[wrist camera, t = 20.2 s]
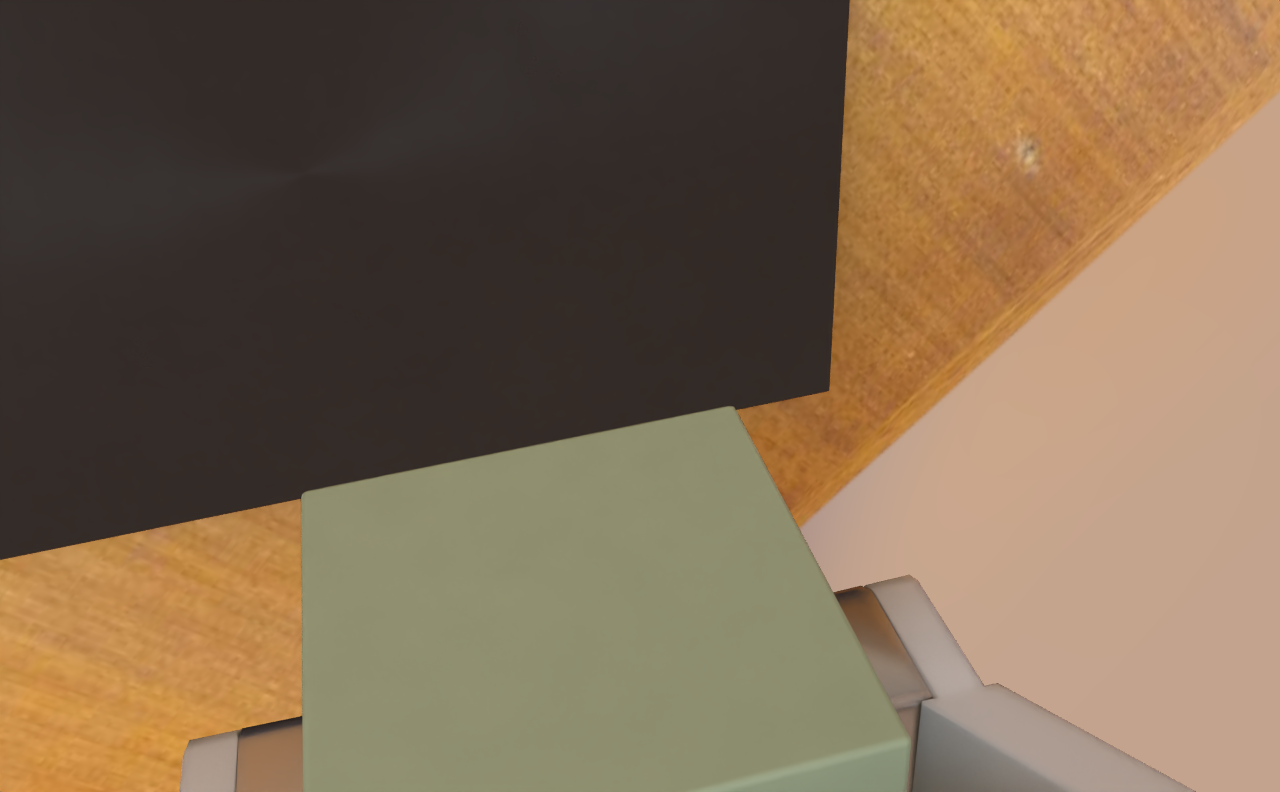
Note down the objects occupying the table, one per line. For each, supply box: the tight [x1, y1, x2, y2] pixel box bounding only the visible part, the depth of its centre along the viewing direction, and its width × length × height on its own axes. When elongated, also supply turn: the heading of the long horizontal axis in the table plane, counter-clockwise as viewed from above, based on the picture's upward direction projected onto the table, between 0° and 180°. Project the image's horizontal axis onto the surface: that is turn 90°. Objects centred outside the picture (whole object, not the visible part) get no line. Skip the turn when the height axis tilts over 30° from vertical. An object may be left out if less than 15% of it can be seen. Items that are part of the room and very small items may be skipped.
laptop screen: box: [0, 0, 849, 560], centre depth 31 cm, size 22×30×1 cm
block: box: [301, 406, 911, 792], centre depth 11 cm, size 4×4×4 cm
